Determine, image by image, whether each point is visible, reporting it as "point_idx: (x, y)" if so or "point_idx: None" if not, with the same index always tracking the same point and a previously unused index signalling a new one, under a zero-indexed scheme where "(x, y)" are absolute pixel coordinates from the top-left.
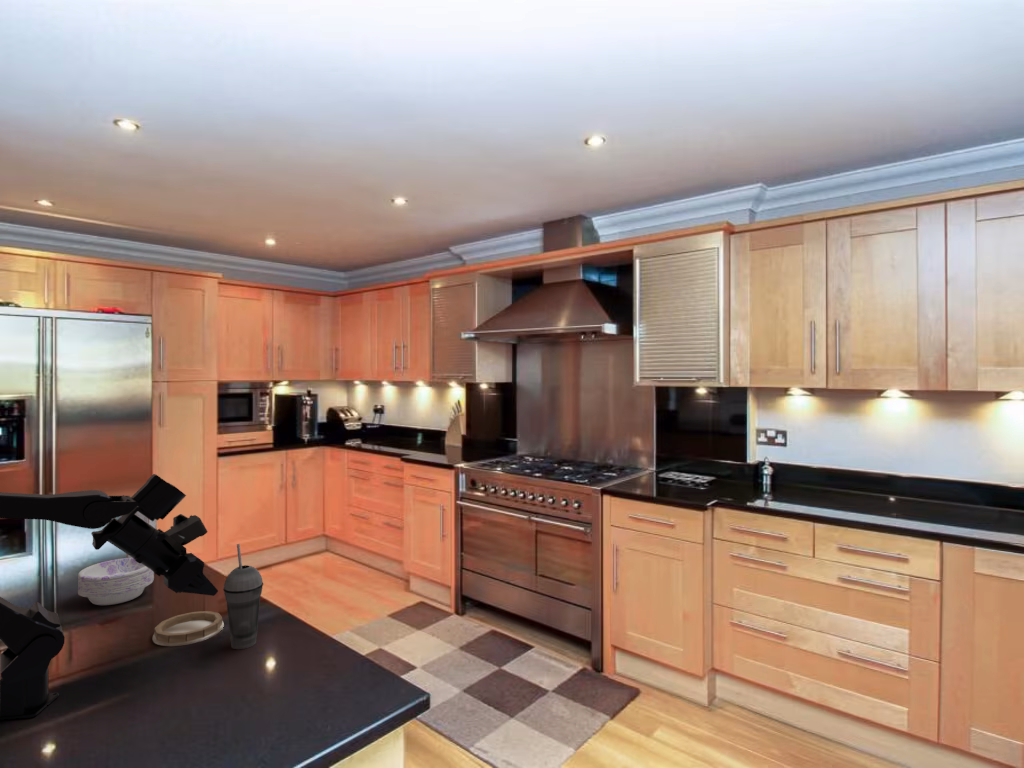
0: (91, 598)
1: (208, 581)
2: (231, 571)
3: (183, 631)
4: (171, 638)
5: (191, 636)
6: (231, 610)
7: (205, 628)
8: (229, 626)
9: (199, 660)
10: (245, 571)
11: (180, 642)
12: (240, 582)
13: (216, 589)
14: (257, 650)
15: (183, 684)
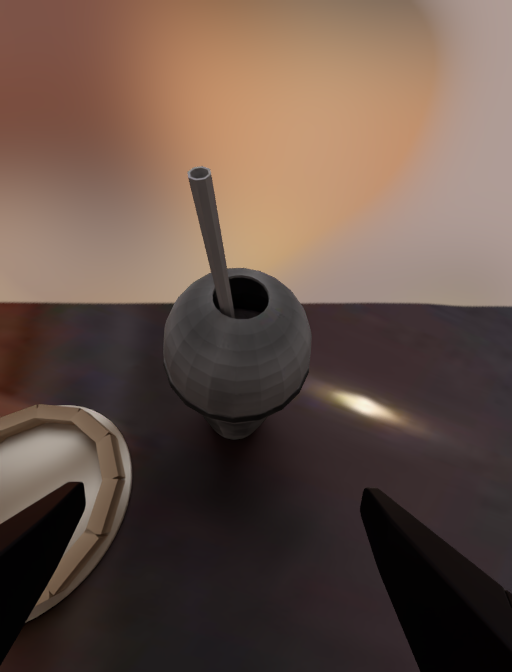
0: None
1: (498, 589)
2: (204, 348)
3: None
4: (66, 584)
5: (110, 517)
6: (256, 421)
7: (112, 470)
8: (233, 434)
9: (247, 531)
10: (286, 309)
11: (98, 551)
12: (305, 359)
13: (391, 500)
14: None
15: (365, 619)
